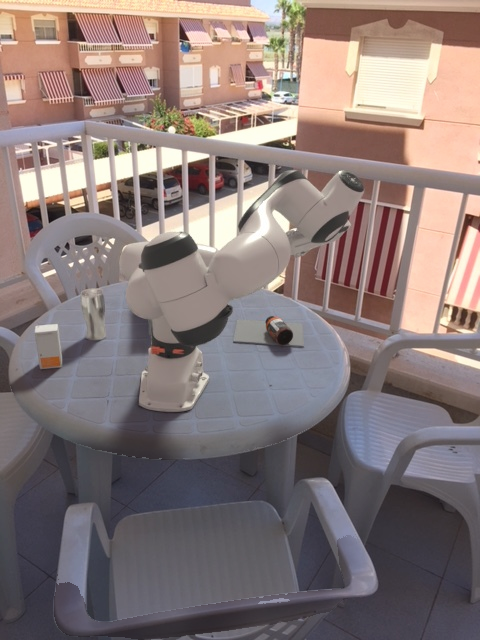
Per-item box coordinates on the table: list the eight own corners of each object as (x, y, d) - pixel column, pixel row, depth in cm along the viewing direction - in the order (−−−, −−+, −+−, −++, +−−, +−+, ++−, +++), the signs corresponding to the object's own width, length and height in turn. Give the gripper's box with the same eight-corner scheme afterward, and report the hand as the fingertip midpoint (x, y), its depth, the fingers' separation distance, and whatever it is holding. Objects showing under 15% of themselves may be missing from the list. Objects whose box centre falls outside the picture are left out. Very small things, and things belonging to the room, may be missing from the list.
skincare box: (39, 370, 145) (33, 332, 139) (40, 362, 148) (34, 325, 143) (62, 367, 146) (57, 330, 141) (63, 359, 150) (57, 323, 144)
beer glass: (106, 329, 167) (102, 287, 160) (108, 340, 161) (104, 296, 154) (84, 332, 165) (79, 289, 158) (85, 342, 159) (80, 298, 152)
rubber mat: (303, 347, 161) (303, 345, 161) (233, 342, 162) (233, 340, 162) (302, 324, 174) (302, 323, 174) (237, 320, 175) (237, 319, 175)
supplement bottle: (278, 348, 160) (264, 332, 169) (295, 341, 161) (280, 325, 170) (274, 332, 157) (260, 317, 166) (292, 326, 158) (277, 310, 167)
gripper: (295, 242, 124) (274, 273, 135) (356, 224, 134) (331, 255, 145) (282, 222, 126) (262, 254, 137) (343, 205, 136) (319, 237, 147)
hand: (298, 254), depth 141 cm, fingers closed
